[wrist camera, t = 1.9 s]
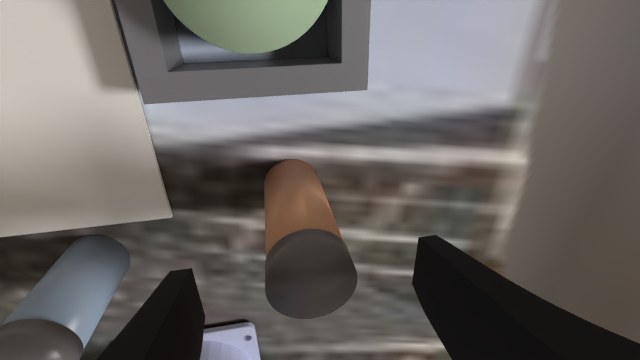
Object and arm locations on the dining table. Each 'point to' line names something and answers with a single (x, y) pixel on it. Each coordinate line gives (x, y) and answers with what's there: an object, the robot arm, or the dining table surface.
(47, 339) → the marker slate
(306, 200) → the marker terracotta
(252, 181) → the dining table surface
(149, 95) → the button housing
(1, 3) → the paper
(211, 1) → the button
